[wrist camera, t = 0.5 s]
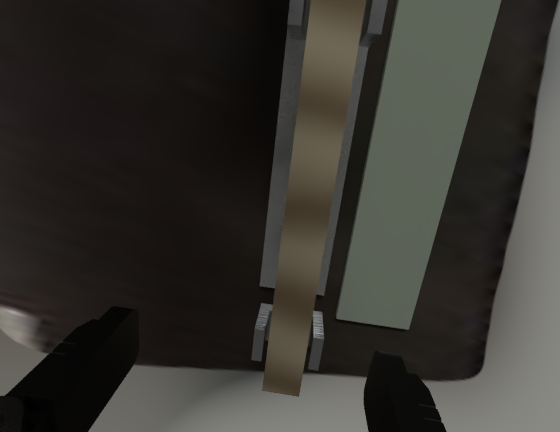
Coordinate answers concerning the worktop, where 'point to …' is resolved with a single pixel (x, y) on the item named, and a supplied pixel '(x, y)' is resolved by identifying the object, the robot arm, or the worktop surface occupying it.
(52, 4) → the worktop surface
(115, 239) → the worktop surface
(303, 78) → the rail
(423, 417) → the robot arm
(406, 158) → the mat
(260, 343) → the hook stand
